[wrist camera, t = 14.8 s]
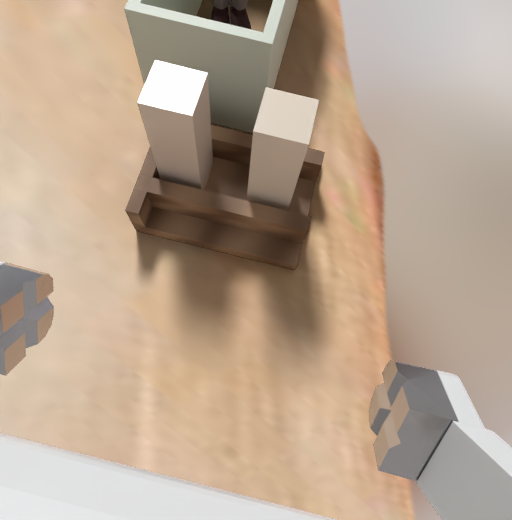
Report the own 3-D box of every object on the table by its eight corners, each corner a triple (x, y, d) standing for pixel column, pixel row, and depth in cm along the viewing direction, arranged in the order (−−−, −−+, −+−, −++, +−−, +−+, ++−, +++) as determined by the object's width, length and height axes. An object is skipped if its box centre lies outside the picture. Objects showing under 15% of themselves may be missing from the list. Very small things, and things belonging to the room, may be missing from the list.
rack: (136, 230, 40) (125, 210, 35) (175, 124, 44) (170, 95, 40) (294, 270, 39) (303, 254, 35) (318, 159, 44) (328, 133, 39)
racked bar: (162, 187, 40) (137, 102, 28) (175, 154, 41) (155, 59, 30) (202, 197, 40) (192, 115, 28) (213, 163, 41) (207, 72, 30)
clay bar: (245, 208, 40) (253, 131, 28) (255, 173, 41) (265, 87, 30) (285, 218, 39) (308, 144, 28) (293, 183, 41) (319, 99, 29)
